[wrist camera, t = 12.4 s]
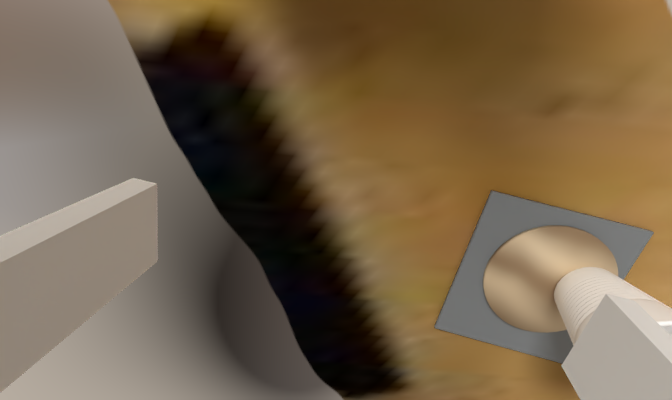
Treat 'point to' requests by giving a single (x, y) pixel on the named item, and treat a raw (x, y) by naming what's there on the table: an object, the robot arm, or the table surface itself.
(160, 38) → the table surface
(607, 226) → the placemat
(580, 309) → the cup
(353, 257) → the table surface
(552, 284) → the coaster
